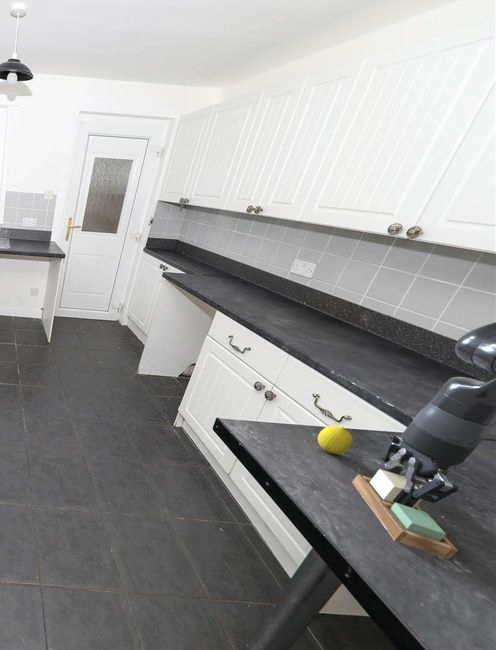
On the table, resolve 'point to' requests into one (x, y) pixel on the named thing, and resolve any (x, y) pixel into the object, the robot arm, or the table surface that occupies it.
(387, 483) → the cream pad
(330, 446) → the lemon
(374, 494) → the pad holder
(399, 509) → the sage pad
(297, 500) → the table surface
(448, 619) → the table surface
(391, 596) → the table surface
